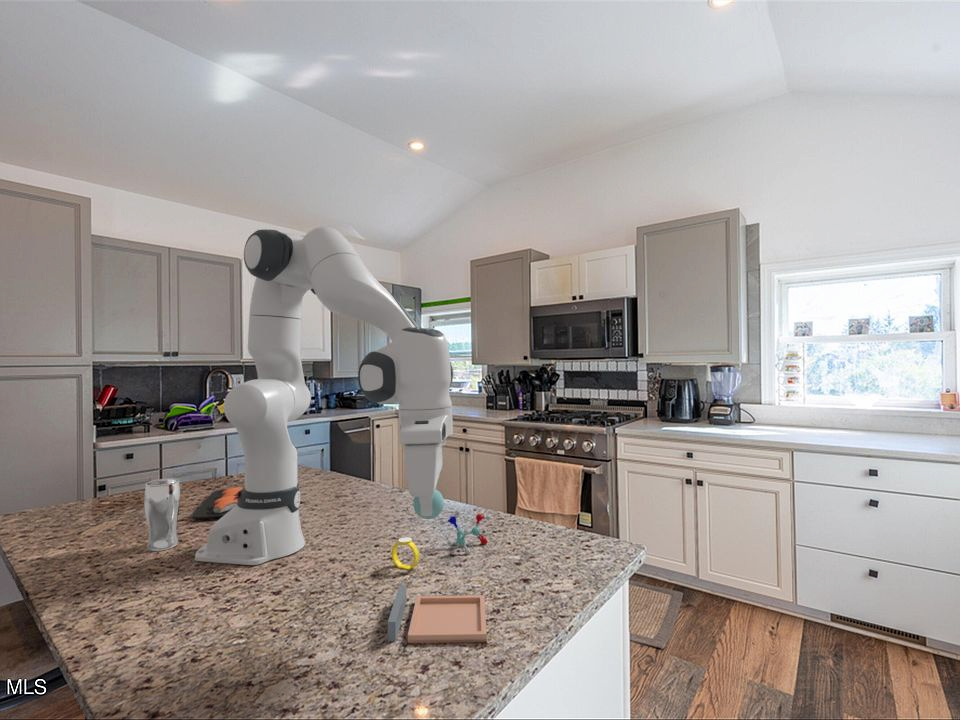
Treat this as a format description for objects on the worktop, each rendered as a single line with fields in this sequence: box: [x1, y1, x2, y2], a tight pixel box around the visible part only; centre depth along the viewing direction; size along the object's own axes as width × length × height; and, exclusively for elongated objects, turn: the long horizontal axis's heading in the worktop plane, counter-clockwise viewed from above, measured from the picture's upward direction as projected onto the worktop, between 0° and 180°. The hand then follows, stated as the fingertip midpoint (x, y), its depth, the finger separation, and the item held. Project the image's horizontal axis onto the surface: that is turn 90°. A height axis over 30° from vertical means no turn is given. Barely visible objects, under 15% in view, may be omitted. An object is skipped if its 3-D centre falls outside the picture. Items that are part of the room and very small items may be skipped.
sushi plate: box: [192, 486, 306, 519], centre depth 145 cm, size 29×30×4 cm
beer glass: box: [143, 477, 181, 552], centre depth 110 cm, size 7×7×15 cm
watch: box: [391, 536, 420, 571], centre depth 99 cm, size 6×3×6 cm, turn 65°
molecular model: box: [439, 509, 492, 555], centre depth 110 cm, size 12×10×10 cm
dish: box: [407, 594, 488, 644], centre depth 78 cm, size 12×12×1 cm
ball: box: [413, 488, 445, 520], centre depth 78 cm, size 5×5×5 cm
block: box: [387, 584, 407, 643], centre depth 79 cm, size 1×12×3 cm, turn 1°
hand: (428, 508), depth 78 cm, fingers closed on ball, 5 cm apart
